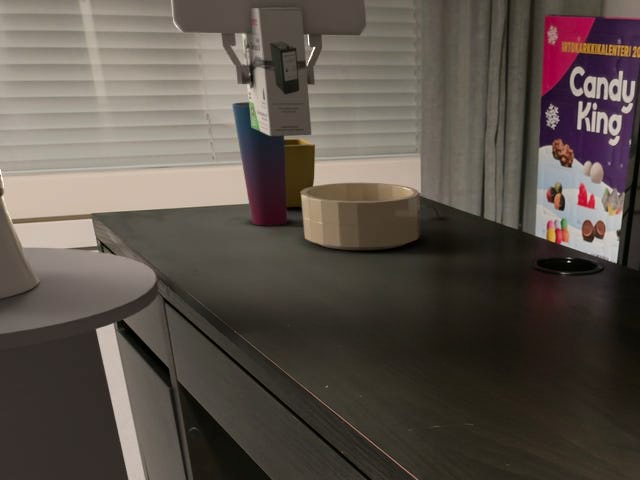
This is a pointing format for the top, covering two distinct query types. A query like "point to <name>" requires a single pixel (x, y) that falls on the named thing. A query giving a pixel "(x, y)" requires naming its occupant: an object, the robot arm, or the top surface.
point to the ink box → (277, 72)
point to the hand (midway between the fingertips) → (276, 84)
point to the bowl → (360, 215)
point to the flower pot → (298, 169)
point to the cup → (262, 169)
